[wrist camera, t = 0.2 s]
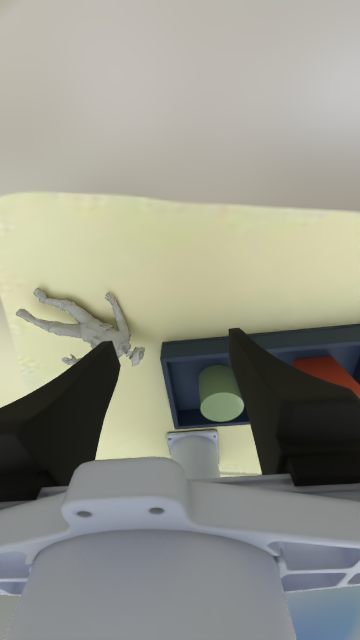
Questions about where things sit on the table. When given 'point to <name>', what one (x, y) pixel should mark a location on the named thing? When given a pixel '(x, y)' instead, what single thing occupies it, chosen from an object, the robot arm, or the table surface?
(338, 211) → the table surface
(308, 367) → the red block
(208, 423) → the tray
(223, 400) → the pale green cylinder
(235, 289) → the table surface
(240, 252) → the table surface
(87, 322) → the soldier figure
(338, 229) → the table surface
